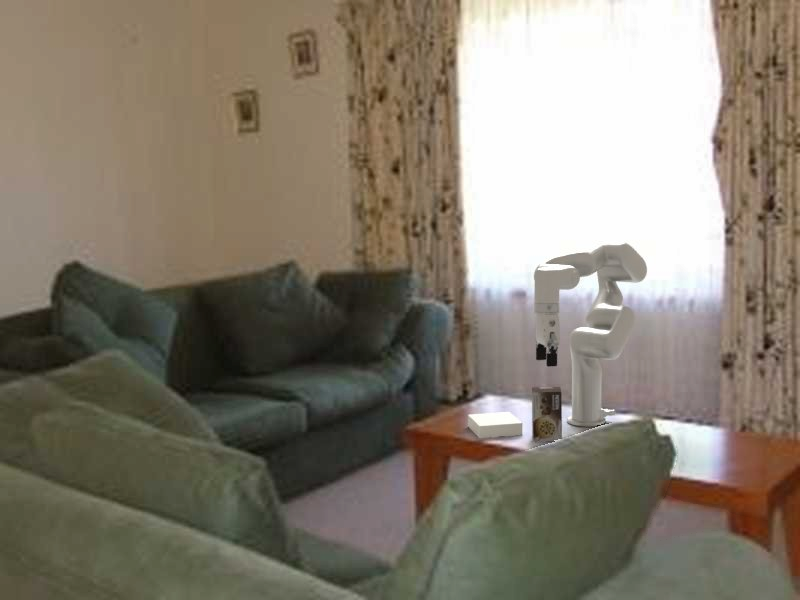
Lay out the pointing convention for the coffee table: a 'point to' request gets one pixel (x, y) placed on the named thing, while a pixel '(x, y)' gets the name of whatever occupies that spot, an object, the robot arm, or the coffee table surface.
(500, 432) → the riser block
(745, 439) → the coffee table surface
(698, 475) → the coffee table surface
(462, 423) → the coffee table surface
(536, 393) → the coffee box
